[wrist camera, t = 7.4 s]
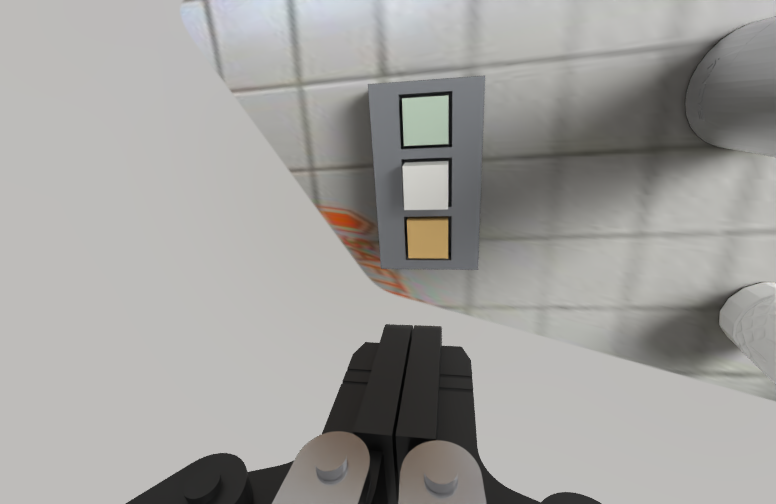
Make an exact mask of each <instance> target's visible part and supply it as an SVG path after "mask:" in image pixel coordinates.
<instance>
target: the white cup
mask: <svg viewBox="0 0 776 504" xmlns="http://www.w3.org/2000/svg"><path fill="white" fill-rule="evenodd" d="M719 325H720V327H721V328H722V330H723V332H724V333H725V335H726V336H727V337H728V338H729V339H730V340H731V341H732V342H733V343H735V344H736V345H737V346H738V347H739V349H740V350H741V351H742V352H743V353H744V354H745V355H746V356H747V357H748V358H749V359H750V360H751V361H752V362H753V363H754V364H755V365H756V366H757V367H758V368H759V369H760V370H761V371H762V372H763V373H764V374H765V375H766V376H767V377H768V378H769V379H770V380H771V381H772V382H773V383H774V384H775V385H776V283H773V282H762V283H758V284H755V285H751V286H748V287H745V288H743V289H741V290H740V291H738V292H737V293H735V294H734V295H733V296H731V297H730V298H728V300H727V301H726V303H725V304H724V306H723V307H722V309H721V310H720V317H719Z"/></svg>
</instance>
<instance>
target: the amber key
mask: <svg viewBox="0 0 776 504" xmlns="http://www.w3.org/2000/svg"><path fill="white" fill-rule="evenodd" d="M407 234H408V258H446V259H448V216H420V217H408V219H407Z"/></svg>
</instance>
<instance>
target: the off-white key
mask: <svg viewBox="0 0 776 504" xmlns="http://www.w3.org/2000/svg"><path fill="white" fill-rule="evenodd" d="M402 169H403V192H404V210H444V209H448V161H432V162H405V163H404V165H403V166H402Z"/></svg>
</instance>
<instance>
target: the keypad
mask: <svg viewBox="0 0 776 504" xmlns="http://www.w3.org/2000/svg"><path fill="white" fill-rule="evenodd" d="M484 91H485V76H473V77H459V78H446V79H432V80H419V81H405V82H392V83H379V84H368V94H369V108H370V122H371V136H372V150H373V163H374V177H375V191H376V205H377V219H378V233H379V247H380V261H381V269H460V270H478V258H479V230H480V202H481V175H482V147H483V119H484ZM446 95H449V138H448V144H436V145H414V146H404V136H403V112H402V98H416V97H431V96H446ZM432 161H448V209H444V210H404V192H403V169H402V166H403V165H404V163H405V162H432ZM420 216H448V259H446V258H408V234H407V219H408V217H420Z"/></svg>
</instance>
